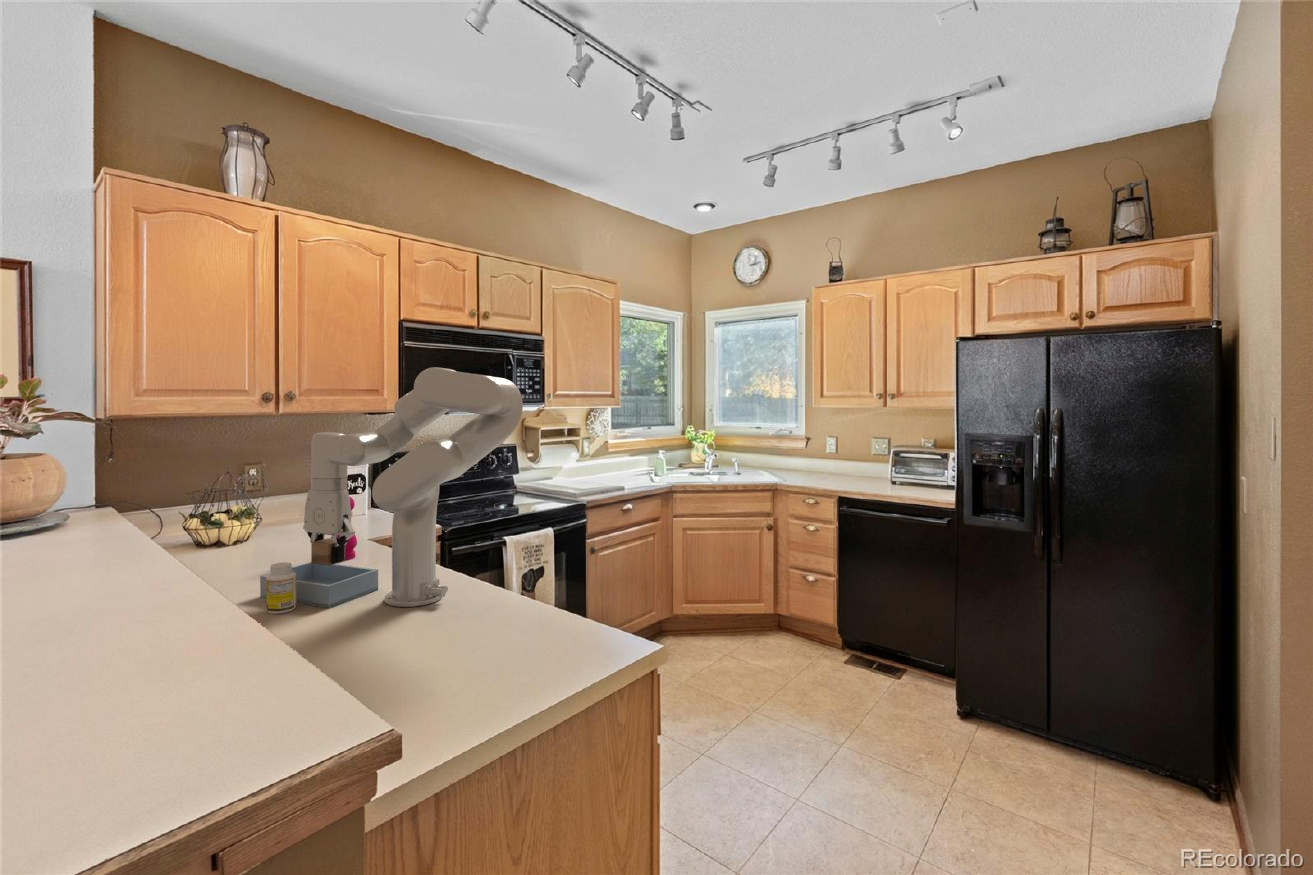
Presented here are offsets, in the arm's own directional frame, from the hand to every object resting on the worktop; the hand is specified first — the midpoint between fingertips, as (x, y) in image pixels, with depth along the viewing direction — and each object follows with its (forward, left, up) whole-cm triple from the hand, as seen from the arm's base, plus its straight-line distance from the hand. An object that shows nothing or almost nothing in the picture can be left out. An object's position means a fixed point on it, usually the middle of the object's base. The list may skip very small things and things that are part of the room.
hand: (328, 559), depth 142 cm
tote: (+3, 0, -8) cm, 9 cm away
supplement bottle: (+1, +12, -9) cm, 15 cm away
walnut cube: (0, 0, -1) cm, 1 cm away
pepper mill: (+24, -27, -9) cm, 37 cm away
